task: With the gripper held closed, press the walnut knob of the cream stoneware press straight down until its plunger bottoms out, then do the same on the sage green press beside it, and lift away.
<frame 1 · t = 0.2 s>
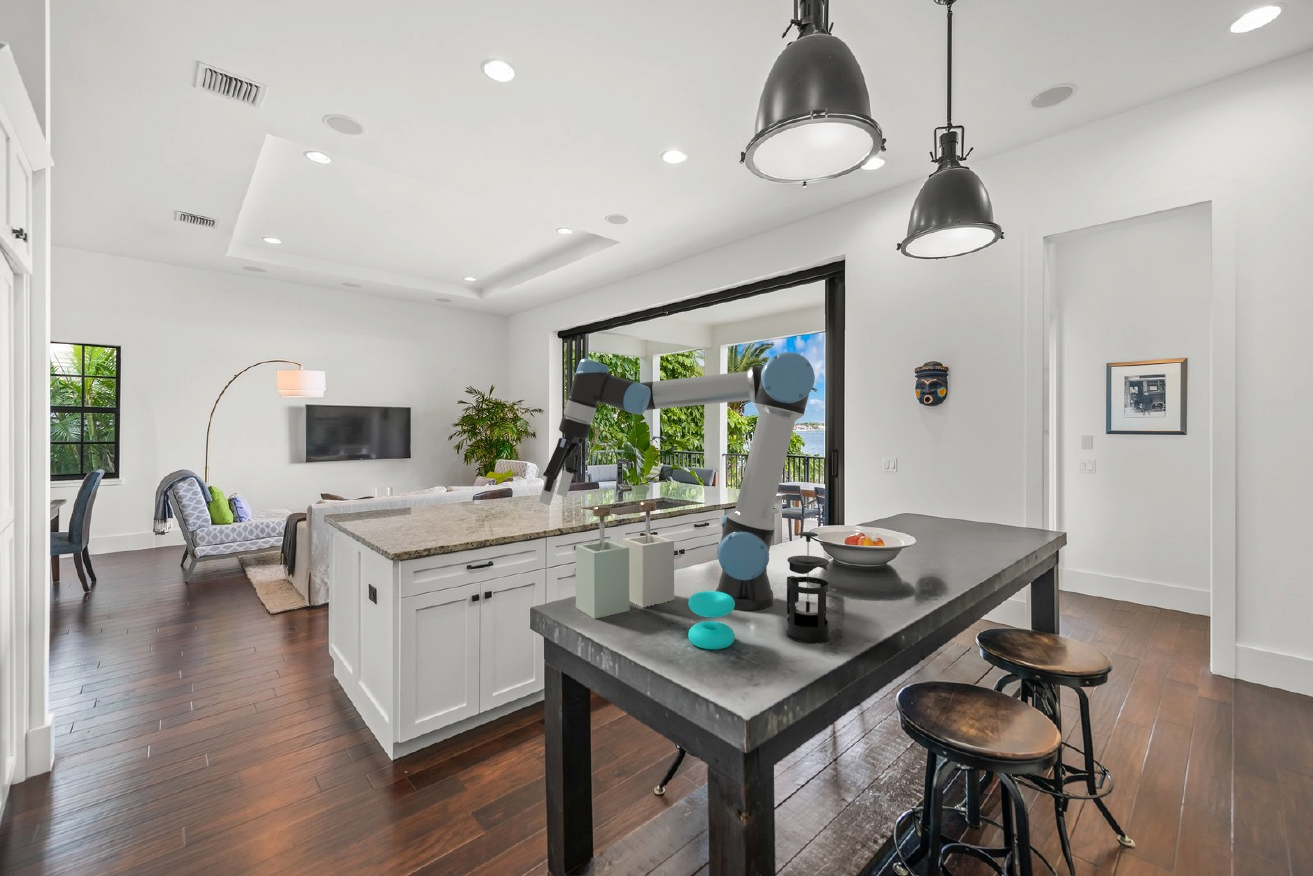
hand: (553, 499, 141), 28 cm above the table, tool tilted 20°, fingers open, 13 cm apart
french press: (806, 635, 124), on the table
plunger a: (647, 527, 148), point 19 cm above the table, slide at 0.0 cm
plunger b: (602, 533, 140), point 19 cm above the table, slide at 0.0 cm
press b: (602, 609, 141), on the table
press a: (648, 599, 149), on the table
donuts: (711, 643, 120), on the table
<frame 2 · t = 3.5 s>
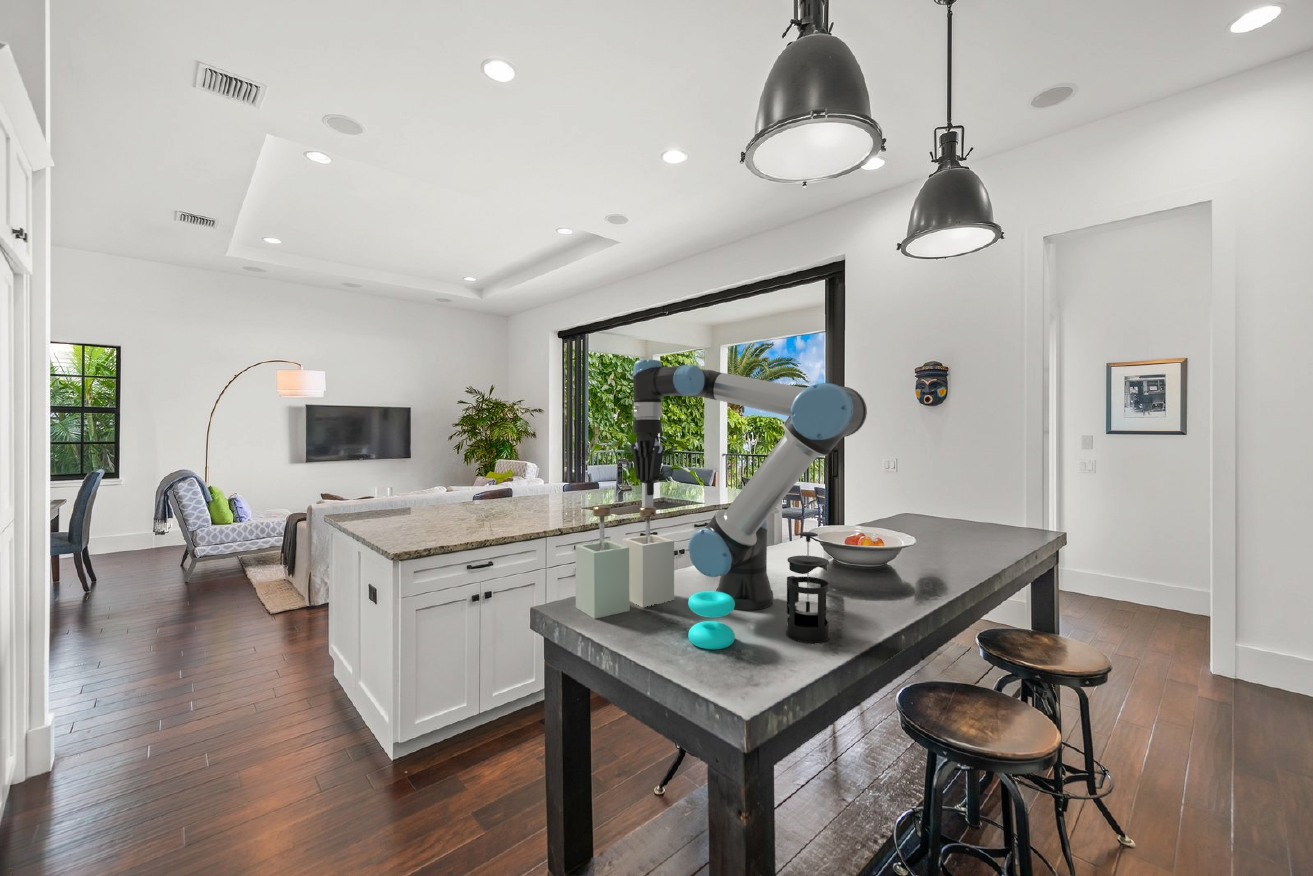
hand: (647, 506, 148), 25 cm above the table, tool pointing down, fingers closed
plunger a: (647, 532, 148), point 18 cm above the table, slide at 1.4 cm, touching gripper
everything else where it was.
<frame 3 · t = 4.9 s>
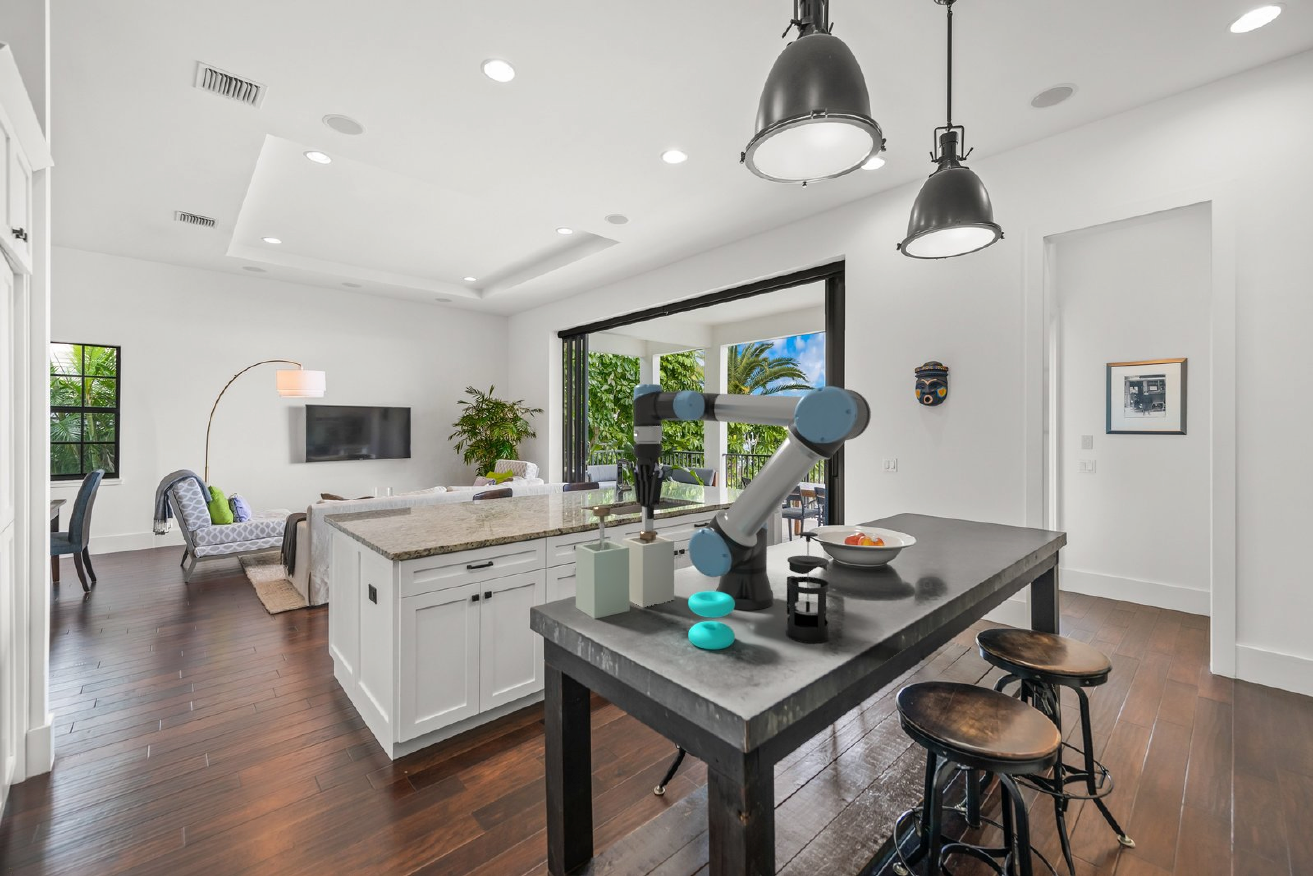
hand: (647, 530, 148), 18 cm above the table, tool pointing down, fingers closed
plunger a: (648, 556, 148), point 12 cm above the table, slide at 7.8 cm, touching gripper
everything else where it was.
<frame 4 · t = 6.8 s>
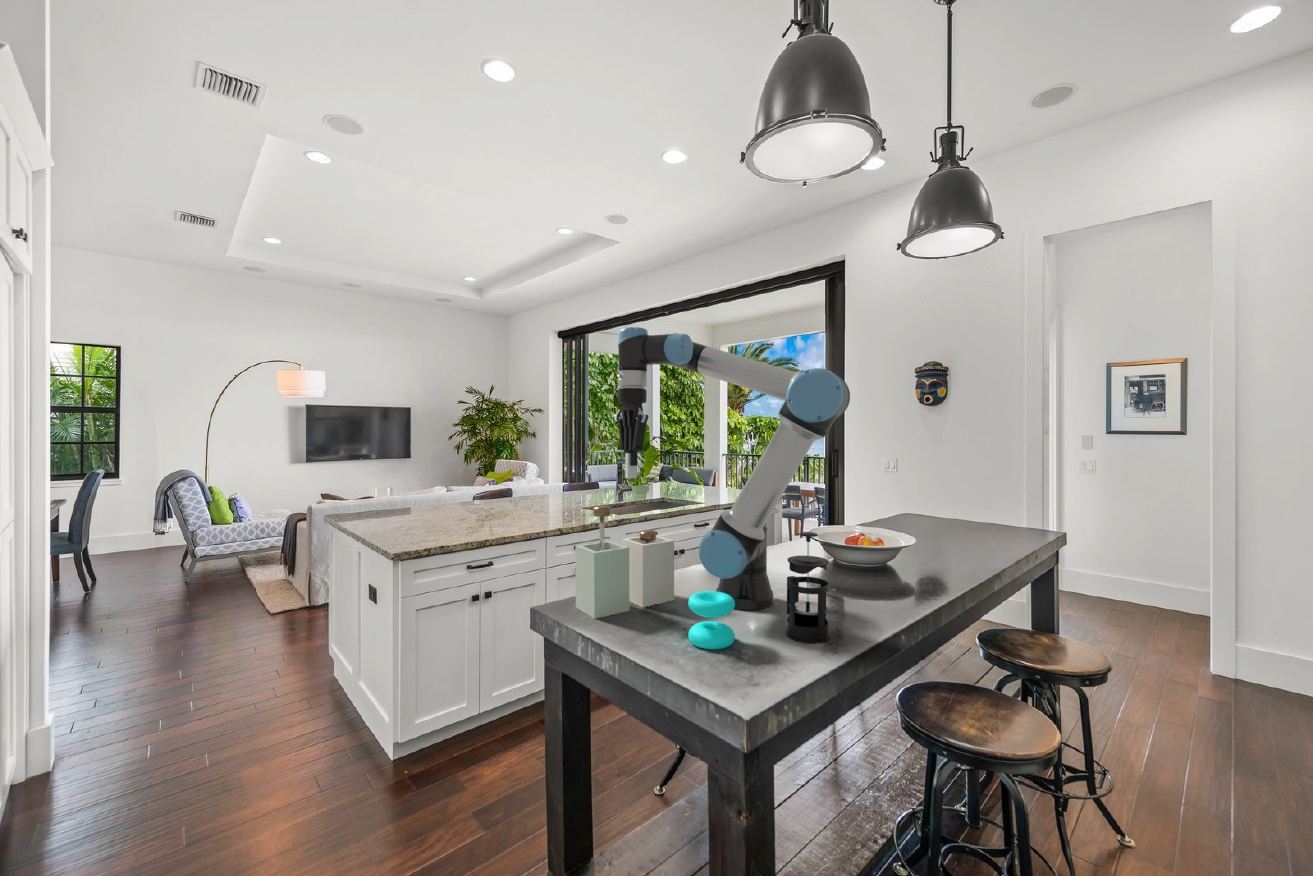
hand: (630, 477, 145), 33 cm above the table, tool pointing down, fingers closed
plunger a: (648, 556, 148), point 12 cm above the table, slide at 7.8 cm
everything else where it was.
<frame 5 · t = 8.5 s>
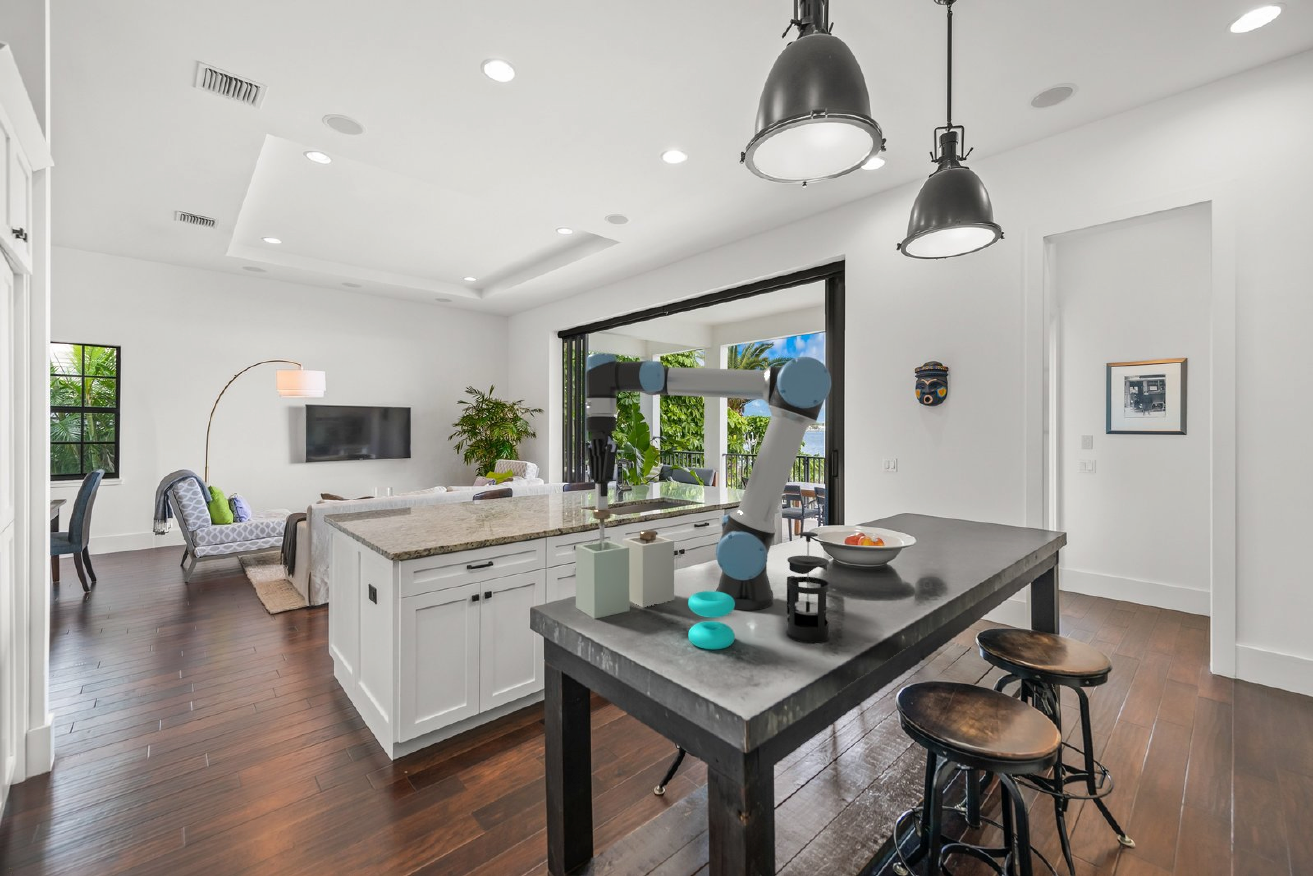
hand: (601, 508, 140), 26 cm above the table, tool pointing down, fingers closed
plunger b: (602, 536, 140), point 19 cm above the table, slide at 0.7 cm, touching gripper
everything else where it was.
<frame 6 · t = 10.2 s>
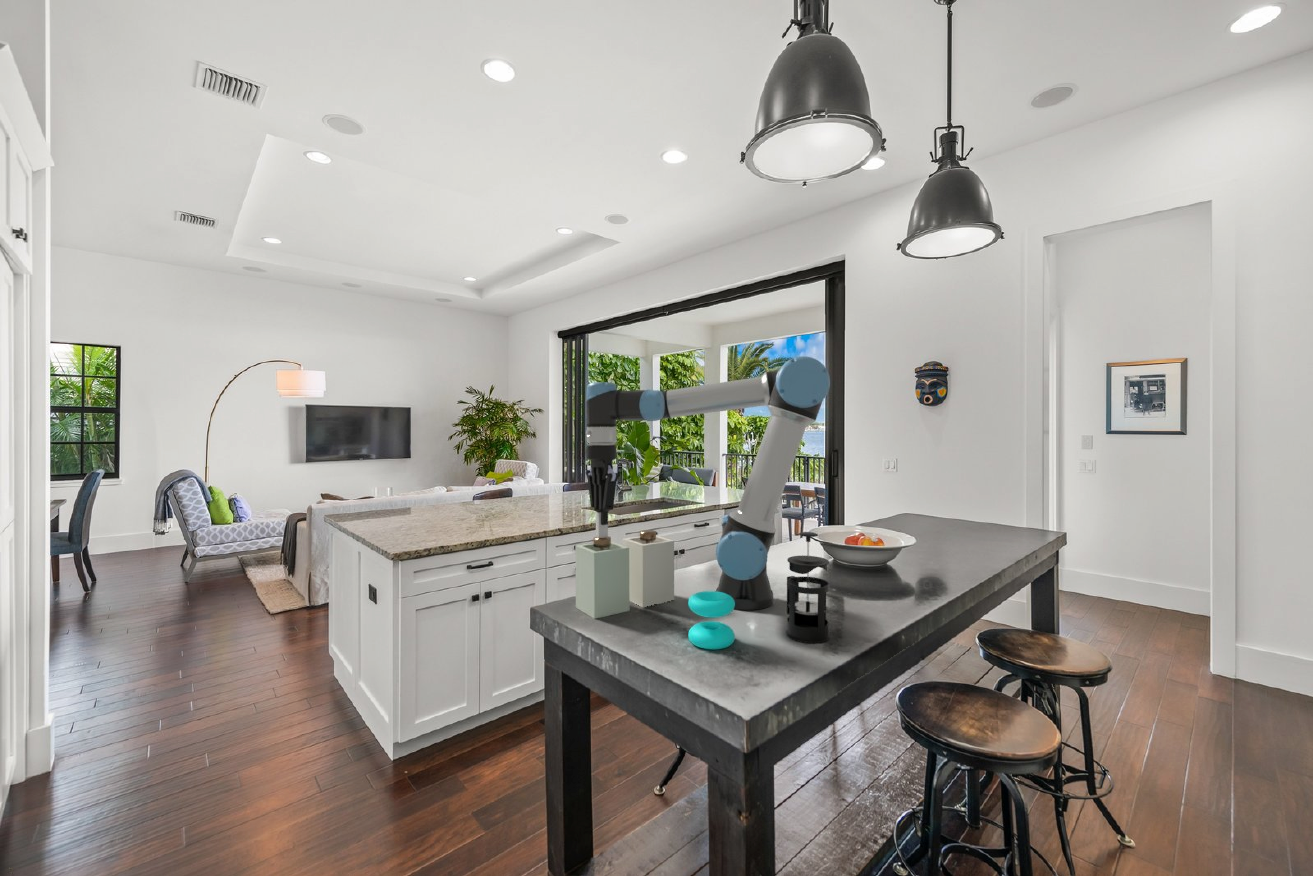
hand: (601, 537, 140), 18 cm above the table, tool pointing down, fingers closed
plunger b: (602, 564, 140), point 12 cm above the table, slide at 7.8 cm, touching gripper
everything else where it was.
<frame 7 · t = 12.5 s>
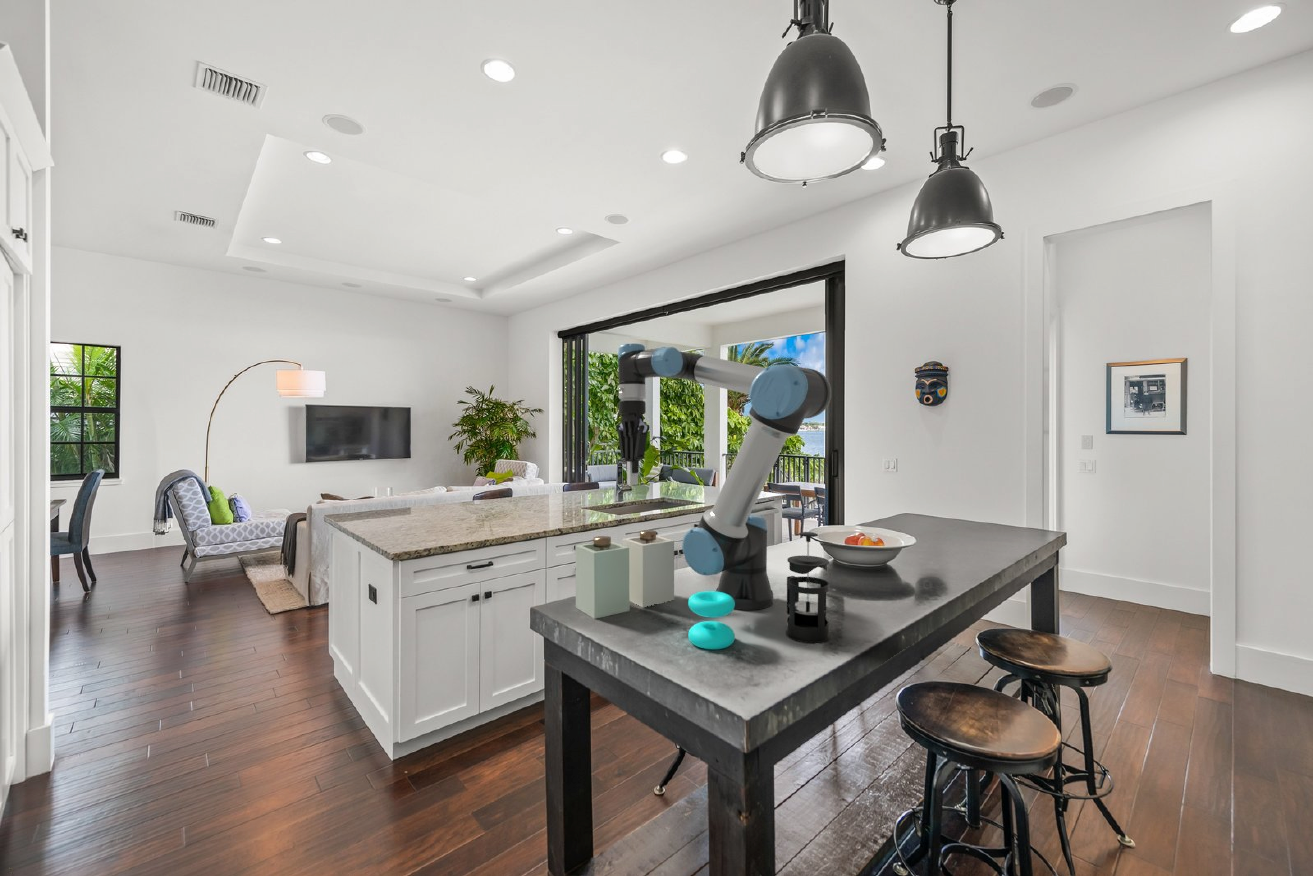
hand: (632, 484, 155), 30 cm above the table, tool pointing down, fingers closed
plunger b: (602, 564, 140), point 12 cm above the table, slide at 7.8 cm
everything else where it was.
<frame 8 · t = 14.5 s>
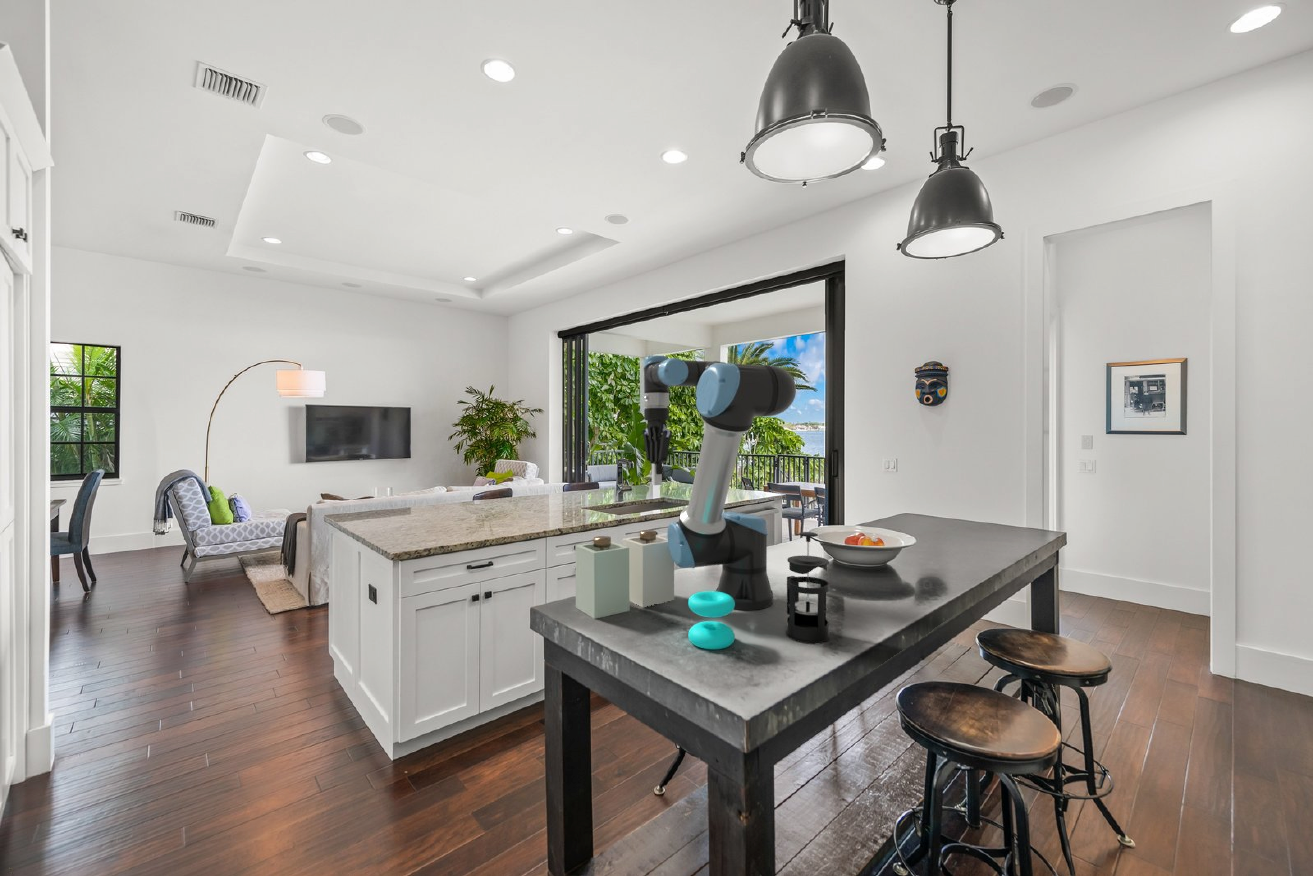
hand: (656, 484, 169), 28 cm above the table, tool pointing down, fingers closed
nothing on the table moved.
at the end: plunger a slide at 7.8 cm; plunger b slide at 7.8 cm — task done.
